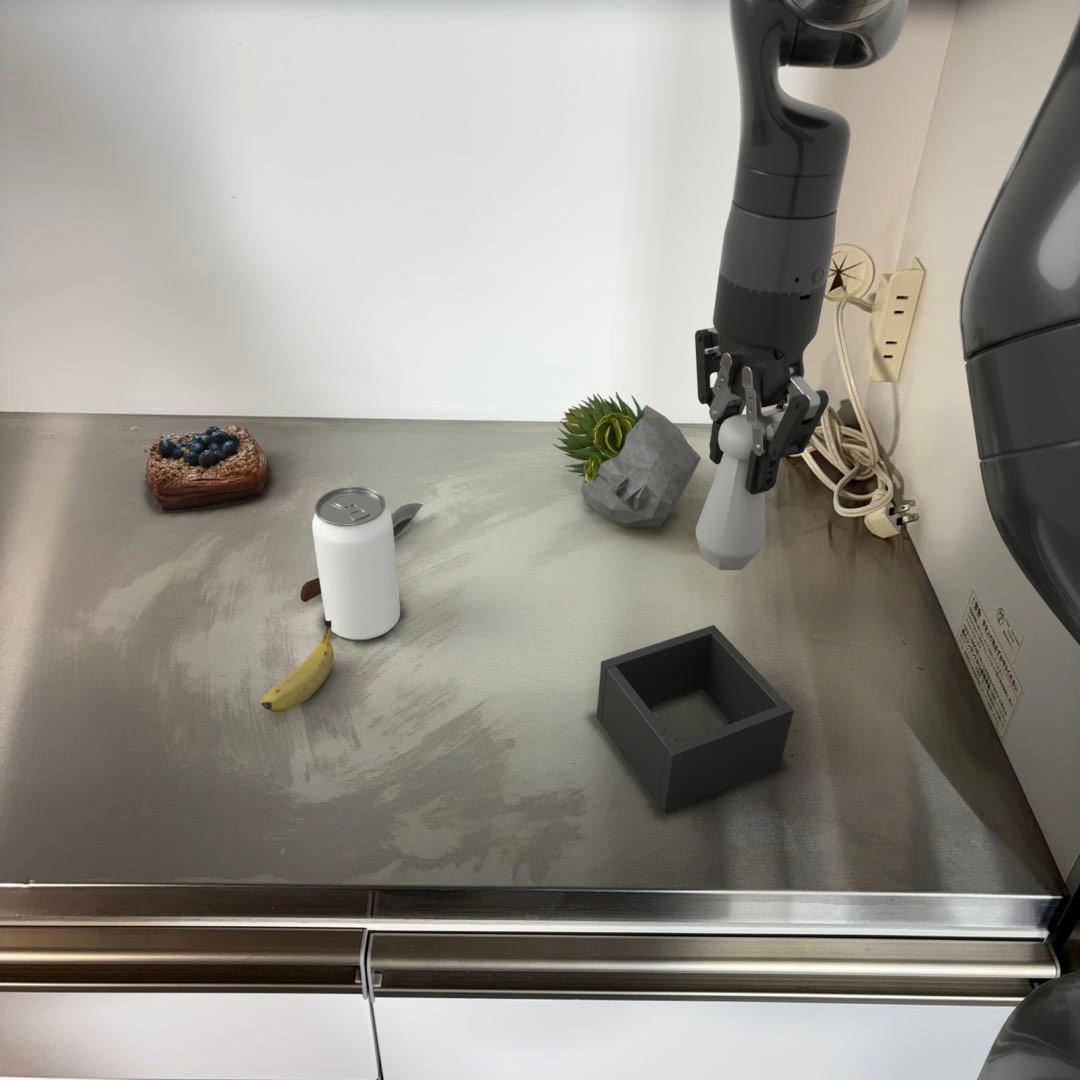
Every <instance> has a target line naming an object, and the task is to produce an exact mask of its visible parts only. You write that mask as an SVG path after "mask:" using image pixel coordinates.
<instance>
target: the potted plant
mask: <svg viewBox="0 0 1080 1080" xmlns="http://www.w3.org/2000/svg"><path fill="white" fill-rule="evenodd" d="M596 395H597V396H596ZM592 396H593V399H592V398H591V397H589V396H586V398H587V400H588V401H586V400H583V399H580V401H581V402H582V403H583V404H584V405H583V404H580V403H578V406H579V407H578V406H571V408H569V407H568V408H567V410H568V412H566V411H563V414H564V416H565V417H563V418H560V420H559V423H561V424H562V425H563V427H564V429H566V431H565V430H563V429H561V428H560V427H558V426H556V428H557V429H558V430H559V432H561V433H562V435H564V436H565V437H566V438H563V437H562V438H561V437H556V439H557V440H559V441H560V442H561V443H562V444H563V445H562V446H561V445H557V444H555V443H552V445H553V446H554V447H555V448H557V449H559V450H561V451H562V452H565V453H564V455H565V456H567V457H570V458H572V459H575V460H578V461H584V462H580V463H573V464H567V465H564V467H566V468H573V469H567V472H571V473H576V474H577V476H578V477H582V478H583V481H582V484H581V488H580V492H581V495H582V498H583V500H584V503H585V504H586V505H587V507H588V508H589V509H590V510H592V511H594V512H595V513H597V514H598V515H600V516H601V517H603V519H605V520H607V521H609V522H611V523H613V524H615V525H617V526H619V527H655V528H656V527H658V528H659V527H662V525H663V524H664V522H665V521H666V520H667V519H666V518H667V517H668V516H669V514H670V513H671V511H672V510H673V509H674V508H675V506H676V505H677V503H679V501H680V499H682V498H681V497H682V496H683V494H684V492H685V490H686V488H687V487H688V484H689V482H690V481H691V478H692V477H693V475H694V473H695V472H696V469H697V467H698V465H699V463H700V461H701V459H702V456H701V455H700V454H699V453H698V452H697V451H696V450H695V449H694V448H693V447H692V446H691V445H690V444H689V443H688V440H687V439H686V437H685V436H684V434H683V432H682V431H681V429H680V428H678V427H677V426H676V425H675V424H674V423H673V422H672V421H671V420H670V419H668V418H667V416H666V415H663V414H662V413H660V412H658V411H657V410H655V409H653V408H652V407H651V406H650V405H648V404H645V405H644V407H643V408H641V406H640V404H639V403H638V401H637V400H636V398H635V397H634V396H633V395H632V394H631V395H630V396H631V398H632V400H633V403H634V406H635V408H636V413H635V412H634V411H633V409H632V408H631V407H630V406H629V404H627V403H626V402H625V401H623V399H622V398H621V397H620V395H619V393H618V392H617V391H615V398H616V400H617V402H618V404H617V402H616V401H615V400H614V399H613V397H611V396H610V395H608V398H609V400H607V399H606V398H602V397H601V395H600V394H599V393H596V394H594V393H592Z"/></svg>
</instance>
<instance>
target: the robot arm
mask: <svg viewBox="0 0 1080 1080" xmlns="http://www.w3.org/2000/svg"><path fill="white" fill-rule="evenodd" d="M909 2H910V0H728V16H729V22H730V23H729V24H730V31H731V39H732V46H733V51H734V57H735V64H736V65H735V67H736V73H737V81H738V90H739V92H738V93H739V106H740V109H739V110H740V123H739V125H740V127H739V129H740V130H739V143H738V151H737V152H738V153H737V160H736V167H735V168H736V169H735V175H734V184H733V191H732V199H731V203H730V209H729V213H728V217H727V221H726V224H725V228H724V233H723V239H722V246H721V253H720V262H719V268H718V276H717V285H716V293H715V300H714V306H713V307H714V308H713V314H712V315H713V316H712V325H713V326H712V327H708V328H702V329H697V330H696V331H695V333H694V345H695V347H694V348H695V366H696V368H695V369H696V387H697V399H698V402H699V403H700V404H701V405H707V406H708V408H709V410H708V414H709V418H710V420H711V421H712V424H711V430H710V431H711V432H710V434H711V435H710V439H709V455H708V457H709V460H710V461H711V462H713V463H714V464H715V465H720V462H721V459H722V456H723V453H724V452H723V451H722V450H720V446H719V442H718V434H719V430H720V427H721V425H722V424H723V422H724V421H725V420H726V419H728V418H730V417H732V416H735V415H743V412H744V410H745V414H746V420H747V423H748V424H750V425H752V435H753V451H751V453H750V459H749V465H748V471H747V477H746V483H745V489H746V490H747V491H748V492H749V493H750V494H752V495H755V494H758V493H762V492H765V493H766V492H769V491H770V490H771V489H773V488H774V487H775V485H776V483H777V477H778V472H779V468H780V462H781V460H782V458H786V457H790V456H794V455H796V456H797V455H800V454H803V453H804V452H805V450H806V449H807V446H808V445H809V443H810V440H811V439H812V436H813V434H814V433H815V430H816V429H817V426H818V424H819V423H820V420H821V419H822V416H823V415H824V412H825V410H826V409H827V406H828V404H829V401H830V398H829V395H828V393H827V391H826V390H824V389H819V390H813V389H812V387H811V386H810V385H809V384H808V383H807V381H806V380H805V379H804V377H805V367H804V365H805V364H804V352H805V350H806V348H807V347H808V346H809V344H810V343H811V342H812V341H813V340H814V338H815V337H816V336H817V333H818V329H819V325H820V319H821V314H822V310H823V304H824V299H825V298H824V297H825V294H826V289H827V283H828V278H829V274H830V273H829V272H830V268H831V264H832V263H831V262H832V258H833V253H834V248H835V247H834V246H835V241H836V227H837V226H836V225H837V214H838V208H839V202H840V197H841V193H842V187H843V183H844V177H845V172H846V167H847V162H848V156H849V153H850V152H849V151H850V146H851V136H852V130H851V125H850V123H849V121H848V119H847V118H846V117H845V116H844V115H842V114H841V113H839V112H837V111H835V110H832V109H829V108H827V107H824V106H820V105H817V104H813V103H810V102H805V101H803V100H800V99H798V98H796V97H793V96H791V95H790V94H788V93H787V92H786V91H785V90H784V89H783V87H782V86H781V84H780V80H779V68H785V67H789V68H807V69H831V70H859V69H864V68H868V67H871V66H874V65H876V64H878V63H880V62H881V61H883V60H884V59H885V58H887V56H888V55H889V54H890V53H891V52H892V51H893V49H894V47H895V46H896V44H897V42H898V41H899V39H900V36H901V33H902V31H903V29H904V25H905V23H906V18H907V14H908V8H909ZM1046 91H1047V92H1046V94H1045V96H1044V98H1043V100H1042V101H1041V104H1040V106H1039V107H1038V110H1037V111H1036V114H1035V116H1033V119H1032V122H1031V124H1030V125H1029V127H1028V130H1027V131H1026V134H1025V136H1024V137H1023V139H1022V141H1021V143H1020V146H1019V147H1018V150H1017V151H1016V153H1015V155H1014V158H1013V159H1012V162H1011V164H1010V166H1009V168H1008V170H1007V172H1006V174H1005V176H1004V178H1003V180H1002V182H1001V184H1000V186H999V188H998V190H997V193H996V195H995V197H994V199H993V202H992V204H991V206H990V208H989V211H988V213H987V214H986V215H987V216H986V217H985V220H984V222H983V224H982V227H981V228H980V231H979V233H978V236H977V239H976V242H975V244H974V247H973V249H972V252H971V255H970V258H969V261H968V265H967V268H966V272H965V275H964V278H963V282H962V288H961V293H960V299H959V319H958V320H959V331H960V340H961V348H962V357H963V361H964V362H965V364H964V368H965V375H966V383H967V389H968V395H969V402H970V408H971V413H972V414H971V415H972V422H973V423H972V424H973V429H974V435H975V442H976V443H975V444H976V446H977V447H976V449H977V456H978V460H979V465H978V466H979V470H980V477H981V481H982V484H983V490H984V495H985V500H986V503H987V506H988V509H989V513H990V516H991V519H992V521H993V524H994V525H995V528H996V530H997V532H998V533H999V536H1000V538H1001V540H1002V542H1003V544H1004V545H1005V547H1006V549H1007V550H1008V552H1009V553H1010V555H1011V557H1012V559H1013V560H1014V562H1015V563H1016V564H1017V567H1018V569H1020V571H1021V572H1022V573H1023V575H1024V577H1025V578H1026V580H1027V581H1028V582H1029V583H1030V585H1031V586H1032V587H1033V588H1034V590H1035V591H1036V593H1037V594H1038V595H1039V596H1040V598H1041V599H1042V601H1044V604H1046V606H1047V607H1048V608H1049V610H1050V612H1052V614H1054V617H1056V618H1057V620H1058V621H1059V622H1060V623H1061V624H1062V626H1063V627H1064V628H1065V629H1066V630H1067V632H1068V633H1069V635H1070V636H1071V637H1072V638H1073V640H1075V642H1076V643H1077V644H1078V645H1079V646H1080V13H1079V14H1078V17H1077V20H1076V22H1075V25H1074V28H1073V30H1072V33H1071V35H1070V39H1069V41H1068V44H1067V47H1066V49H1065V51H1064V53H1063V55H1062V58H1061V61H1060V62H1059V65H1058V67H1057V68H1056V71H1055V73H1054V76H1053V78H1052V81H1051V82H1050V85H1049V87H1048V90H1046ZM715 373H716V379H715V381H714V384H713V386H711V375H712V374H715ZM772 406H775V407H774V408H773V409H769V410H765V411H764V410H763V411H762V409H763V408H768V407H772ZM768 425H772V428H773V430H774V436H771V437H767V427H768ZM976 1080H1080V970H1078V971H1074V972H1070V973H1066V974H1063V975H1061V976H1058V977H1055V978H1052V979H1050V980H1047V981H1046V982H1044V983H1042V984H1040V985H1039V986H1037V987H1036V988H1034V989H1033V990H1032V991H1031V992H1030V993H1028V995H1026V996H1025V997H1024V998H1023V999H1022V1000H1020V1002H1019V1003H1018V1004H1017V1006H1015V1008H1014V1009H1013V1010H1012V1012H1011V1013H1010V1014H1009V1016H1007V1019H1006V1020H1005V1021H1004V1023H1003V1024H1002V1026H1001V1028H1000V1029H999V1031H998V1033H997V1036H996V1037H995V1039H994V1041H993V1043H992V1045H991V1047H990V1049H989V1051H988V1054H987V1056H986V1058H985V1060H984V1063H983V1065H982V1067H981V1069H980V1071H979V1074H978V1076H977V1079H976Z"/></svg>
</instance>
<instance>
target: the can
mask: <svg viewBox="0 0 1080 1080" xmlns="http://www.w3.org/2000/svg"><path fill="white" fill-rule="evenodd" d="M391 515H392V514H391V512H390V509H389V508H388V507H387V506H386V499H385V497H384V496H383V495H382V494H381V492H379V491H378V490H376V489H373V488H371V487H366V486H362V485H361V486H360V485H349V486H342V487H338V488H334V489H332V490H329V491H327V492H325V493H324V494H323V495H321V496H320V497H319V498H318V499H317V500H316V502H315V504H314V516H313V518H312V522H311V523H312V524H311V529H312V536H313V544H314V550H315V551H314V552H315V559H316V565H317V566H316V567H317V573H318V577H319V580H320V586H321V598H322V606H323V611H324V619H325V620H327V621H330V620H332V621H331V624H332V626H331V633H334V634H335V635H337V636H338V637H341V638H343V639H344V640H345V639H346V640H349V641H356V642H360V641H363V642H364V641H369V640H370V641H371V640H374V639H378V638H381V636H384V635H386V634H387V633H388V632H390V631H391V630H392V629H393V628H394V627H395V626H396V625H397V623H398V621H399V620H400V617H401V605H400V604H401V603H400V592H399V591H400V590H399V580H398V579H399V577H398V567H397V557H396V544H395V537H394V533H393V523H392V517H391Z"/></svg>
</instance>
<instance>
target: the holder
mask: <svg viewBox="0 0 1080 1080" xmlns="http://www.w3.org/2000/svg"><path fill="white" fill-rule="evenodd" d="M598 683H599V686H598V697H597V699H598V700H597V712H596V719H597V720H598V721H599V723H600V724H601V725H602V727H603V728H604V729H605V731H606V733H607V734H608V735H609V736H610V738H611V739H612V741H613V742H614V743H615V745H616V746H617V748H618V749H619V751H620V752H621V754H622V755H623V756H624V758H625V759H626V760H627V762H628V764H629V765H630V766H631V767H632V769H633V770H634V772H635V773H636V774H637V776H638V777H639V779H640V780H641V781H642V783H643V785H644V786H645V787H646V789H647V790H648V791H649V793H650V794H651V795H652V797H653V799H654V800H655V801H656V803H657V804H658V805H659V807H660V809H661V810H662V812H663V813H665V814H666V813H668V812H671V811H673V810H675V809H678V808H680V807H683V806H685V805H688V804H691V803H693V802H695V801H698V800H700V799H703V798H706V797H708V796H711V795H713V794H716V793H718V792H721V791H723V790H726V789H728V788H730V787H733V786H735V785H738V784H740V783H742V782H745V781H748V780H751V779H753V778H755V777H758V776H760V775H763V774H766V773H768V772H771V771H773V770H775V769H778V768H780V767H781V765H782V762H783V757H784V753H785V749H786V745H787V740H788V737H789V733H790V730H791V724H792V721H793V716H794V712H795V709H794V708H793V707H792V706H791V704H789V703H788V701H787V700H785V698H784V697H783V696H782V695H781V694H780V693H779V692H778V691H777V690H776V688H774V687H773V686H772V684H771V683H769V682H768V680H767V679H766V678H764V676H763V675H762V674H761V673H760V672H759V671H758V670H757V669H756V668H755V667H754V665H753V664H751V662H750V661H749V660H748V659H747V658H746V657H745V656H744V655H743V654H742V653H741V652H740V651H739V650H738V649H737V647H736V646H735V645H734V644H732V641H730V640H729V639H728V638H727V637H726V635H724V634H723V633H722V632H721V631H720V630H719V628H717V626H716V625H715V624H711V625H708V626H706V627H703V628H700V629H697V630H694V631H691V632H688V633H687V632H686V633H685V634H681V635H677V636H675V637H672V638H669V639H665V640H663V641H660V642H656V643H653V644H651V645H650V644H649V645H647V646H645V647H641V648H638V649H635V650H633V651H628V652H626V653H623V654H620V655H617V656H613V657H610V658H607V659H604V660H602V661H600V671H599V682H598ZM701 690H703V691H704V693H705V694H706V695H707V696H708V697H709V698H710V700H711V701H712V702H713V703H714V704H715V706H716V707H717V708H718V709H719V710H720V711H721V712H722V714H723V715H724V716H725V717H726V719H727V720H728V721H729V722H730V723H729V724H726V725H723V726H721V727H718V728H715V729H713V730H710V731H707V732H705V733H702V734H700V735H699V734H698V735H697V736H694V737H691V738H689V739H686V740H683V741H680V742H677V743H676V742H675V740H674V739H673V738H672V735H670V733H669V732H668V731H667V730H666V729H665V727H664V726H663V725H662V724H661V722H660V721H659V720H658V718H657V717H656V716H655V714H654V713H653V712H652V710H651V709H650V708H652V707H656V706H657V705H660V704H663V703H666V702H670V701H672V700H675V699H677V698H680V697H683V696H686V695H689V694H691V693H694V692H698V691H701Z"/></svg>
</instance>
